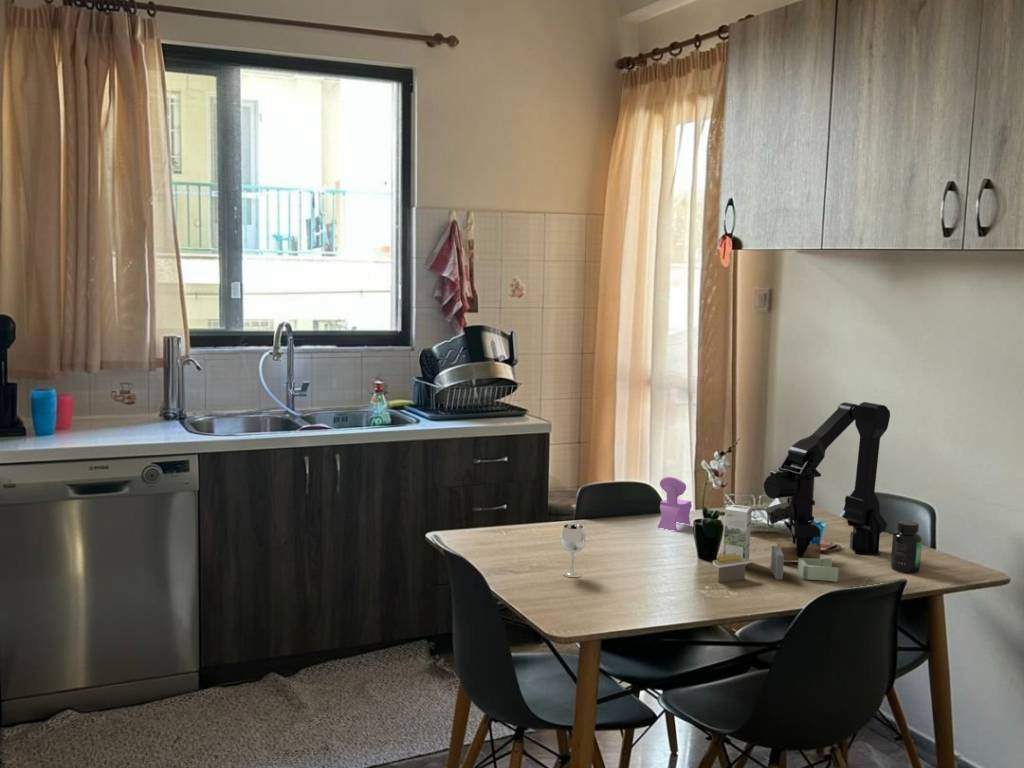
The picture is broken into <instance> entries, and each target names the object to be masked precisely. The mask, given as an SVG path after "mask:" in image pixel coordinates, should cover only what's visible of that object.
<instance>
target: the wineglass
mask: <svg viewBox="0 0 1024 768" xmlns="http://www.w3.org/2000/svg"><path fill="white" fill-rule="evenodd" d="M584 529H585V528H584V526H583V525H582V524H578V523H577V524H576V523H568V524H567V523H566V524H564V525H563V527H562V531H561V534H560V535H561V537H560V542H561V543H560V544H561V547H562V549H563V550H565V551H566V552H568V553H570V555H569V557H570V558H569V559H570V563H571V564H570V565H571V566H570V567H571V568H570V571H566V572H567V574H568V575H572V576H575V575H578V573H579V572H577V571H575V570H574V561H575V553H578V552H581V551H582V550H583V549H584V547H585V543H586V535H585V530H584ZM576 572H577V573H576Z"/></svg>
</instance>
